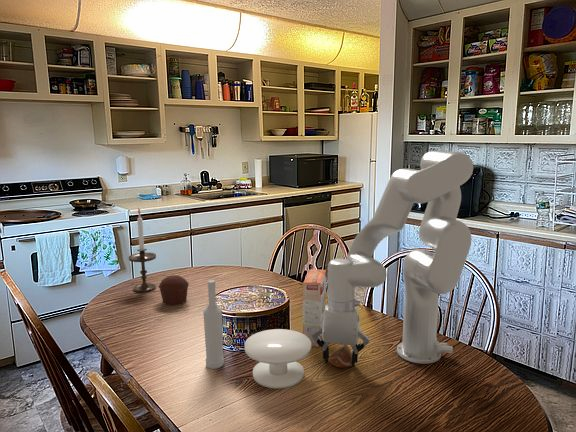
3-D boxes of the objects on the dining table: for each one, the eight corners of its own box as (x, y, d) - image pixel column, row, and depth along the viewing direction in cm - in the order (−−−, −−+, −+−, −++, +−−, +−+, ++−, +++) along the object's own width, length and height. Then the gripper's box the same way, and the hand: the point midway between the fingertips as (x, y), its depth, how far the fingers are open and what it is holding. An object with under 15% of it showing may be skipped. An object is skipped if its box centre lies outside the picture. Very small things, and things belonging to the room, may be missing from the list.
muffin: (195, 299, 177) (194, 275, 175) (175, 309, 168) (173, 283, 166) (174, 293, 183) (173, 270, 182) (153, 302, 174) (151, 278, 172)
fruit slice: (345, 375, 122) (346, 359, 121) (323, 369, 125) (323, 353, 124) (356, 362, 129) (356, 346, 128) (334, 356, 132) (334, 340, 131)
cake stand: (316, 361, 129) (316, 332, 128) (304, 397, 112) (304, 364, 110) (256, 354, 133) (256, 326, 132) (236, 388, 116) (235, 356, 114)
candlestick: (153, 293, 184) (147, 209, 177) (127, 293, 184) (120, 209, 178) (161, 284, 195) (156, 205, 188) (136, 284, 195) (130, 205, 188)
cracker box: (321, 348, 137) (321, 283, 133) (301, 346, 138) (301, 282, 134) (326, 328, 150) (327, 269, 147) (308, 327, 152) (309, 268, 148)
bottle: (208, 371, 125) (205, 285, 120) (203, 362, 129) (199, 280, 124) (226, 366, 127) (223, 282, 122) (220, 358, 131) (217, 277, 127)
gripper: (373, 301, 125) (371, 359, 128) (312, 296, 129) (312, 353, 132) (372, 311, 118) (370, 373, 121) (307, 306, 122) (307, 366, 125)
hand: (340, 362), depth 127 cm, fingers closed on fruit slice, 7 cm apart
